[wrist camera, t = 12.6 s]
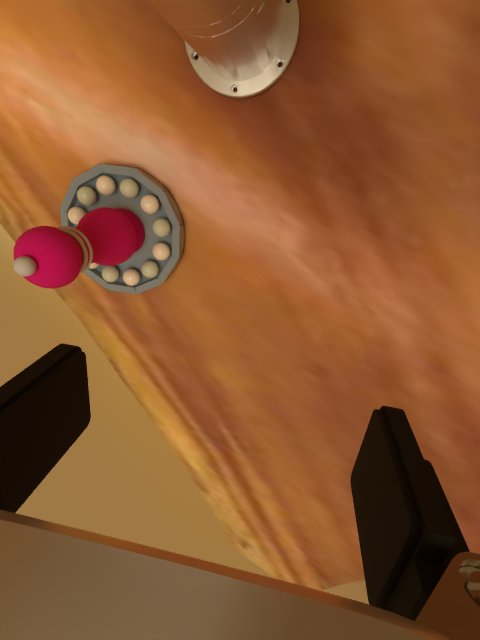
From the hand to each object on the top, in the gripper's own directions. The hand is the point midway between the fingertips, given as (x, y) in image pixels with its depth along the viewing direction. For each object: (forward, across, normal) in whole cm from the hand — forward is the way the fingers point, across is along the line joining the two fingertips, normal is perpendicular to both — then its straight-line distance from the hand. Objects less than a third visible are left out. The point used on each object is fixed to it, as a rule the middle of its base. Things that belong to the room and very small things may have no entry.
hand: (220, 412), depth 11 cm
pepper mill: (+37, +22, +4) cm, 43 cm away
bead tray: (+38, +22, +4) cm, 44 cm away
